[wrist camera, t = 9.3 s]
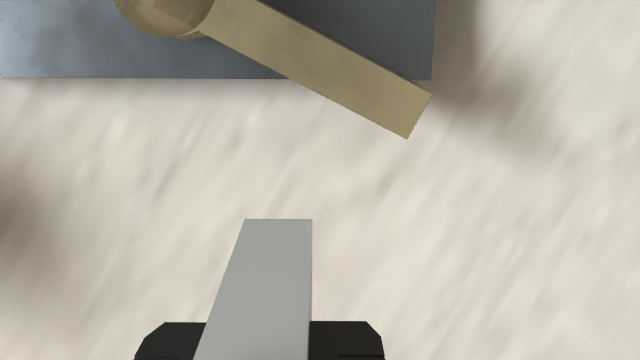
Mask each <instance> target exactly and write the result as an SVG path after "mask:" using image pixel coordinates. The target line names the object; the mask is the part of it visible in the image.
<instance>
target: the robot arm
mask: <svg viewBox="0 0 640 360" xmlns="http://www.w3.org/2000/svg"><path fill="white" fill-rule="evenodd" d="M134 360H385V358H384V350H383V345H382V340H381V336H380V335H379V334H378V333H377V332H376V331H375V330H374V329H373V328H372V327H371V326H370V325H369V324H368V323H367V322H366V321H312V219H245V220H244V223H243V225H242V228H241V231H240V233H239V236H238V239H237V242H236V244H235V247H234V250H233V252H232V255H231V258H230V261H229V263H228V266H227V269H226V271H225V274H224V277H223V280H222V282H221V285H220V288H219V290H218V293H217V296H216V299H215V301H214V304H213V307H212V309H211V312H210V315H209V318H208V320H207V323H197V322H165V323H163V324H162V325H161V326H159V327H158V328H157V329H155V330H154V331H153V332H151V333H150V334H149V335H147V336H146V337H145V338H144V340H143V342H142V343H141V345H140V347H139V349H138V351H137V353H136V354H135V358H134Z"/></svg>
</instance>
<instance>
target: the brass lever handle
mask: <svg viewBox="0 0 640 360" xmlns="http://www.w3.org/2000/svg"><path fill="white" fill-rule="evenodd" d="M114 2H115V4H116V6H117V8H118V10H119V11H120V13H121V14H122V15H123V16H124V18H125V19H126V20H127V21H128V22H129V23H130V24H132V25H133V26H134V27H136V28H137V29H139V30H141V31H143V32H145V33H147V34H150V35H153V36H159V37H174V38H178V39H196V38H201V37H205V36H209V37H211V38H213V39H215V40H217V41H219V42H221V43H223V44H225V45H227V46H228V47H230V48H232V49H234V50H236V51H238V52H240V53H242V54H244V55H246V56H248V57H250V58H252V59H253V60H255V61H257V62H259V63H261V64H263V65H265V66H267V67H269V68H271V69H273V70H275V71H276V72H278V73H280V74H282V75H284V76H286V77H288V78H290V79H292V80H294V81H296V82H298V83H300V84H301V85H303V86H305V87H307V88H309V89H311V90H313V91H315V92H317V93H319V94H321V95H323V96H325V97H326V98H328V99H330V100H332V101H334V102H336V103H338V104H340V105H342V106H344V107H346V108H348V109H349V110H351V111H353V112H355V113H357V114H359V115H361V116H363V117H365V118H367V119H369V120H371V121H373V122H374V123H376V124H378V125H380V126H382V127H384V128H386V129H388V130H390V131H392V132H394V133H396V134H398V135H399V136H401V137H403V138H405V139H408V137H409V135H410V133H411V132H412V130H413V128H414V126H415V125H416V123H417V121H418V119H419V117H420V116H421V114H422V112H423V110H424V109H425V107H426V105H427V103H428V102H429V100H430V98H431V96H432V94H431V93H429V92H428V91H426V90H425V89H423V88H422V87H421V86H419V85H418V84H416V83H414V82H412V81H410V80H409V79H407V78H405V77H403V76H401V75H399V74H397V73H396V72H394V71H392V70H390V69H388V68H386V67H384V66H382V65H381V64H379V63H377V62H375V61H373V60H371V59H369V58H367V57H366V56H364V55H362V54H360V53H358V52H356V51H354V50H352V49H351V48H349V47H347V46H345V45H343V44H341V43H339V42H338V41H336V40H334V39H332V38H330V37H328V36H326V35H324V34H323V33H321V32H319V31H317V30H315V29H313V28H311V27H309V26H308V25H306V24H304V23H302V22H300V21H298V20H296V19H295V18H293V17H291V16H289V15H287V14H285V13H283V12H281V11H280V10H278V9H276V8H274V7H272V6H270V5H268V4H266V3H265V2H263V1H261V0H114Z"/></svg>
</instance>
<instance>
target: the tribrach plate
mask: <svg viewBox="0 0 640 360" xmlns="http://www.w3.org/2000/svg"><path fill="white" fill-rule="evenodd" d="M261 1H263V2H265V3H266V4H268V5H270V6H272V7H274V8H276V9H278V10H280V11H281V12H283V13H285V14H287V15H289V16H291V17H293V18H295V19H296V20H298V21H300V22H302V23H304V24H306V25H308V26H309V27H311V28H313V29H315V30H317V31H319V32H321V33H323V34H324V35H326V36H328V37H330V38H332V39H334V40H336V41H338V42H339V43H341V44H343V45H345V46H347V47H349V48H351V49H352V50H354V51H356V52H358V53H360V54H362V55H364V56H366V57H367V58H369V59H371V60H373V61H375V62H377V63H379V64H381V65H382V66H384V67H386V68H388V69H390V70H392V71H394V72H396V73H397V74H399V75H401V76H403V77H405V78H407V79H409V80H431V67H432V49H433V31H434V12H435V0H261ZM0 77H55V78H207V79H290V78H288V77H286V76H284V75H282V74H280V73H278V72H276V71H275V70H273V69H271V68H269V67H267V66H265V65H263V64H261V63H259V62H257V61H255V60H253V59H252V58H250V57H248V56H246V55H244V54H242V53H240V52H238V51H236V50H234V49H232V48H230V47H228V46H227V45H225V44H223V43H221V42H219V41H217V40H215V39H213V38H211V37H209V36H205V37H201V38H196V39H178V38H174V37H159V36H153V35H150V34H147V33H145V32H143V31H141V30H139V29H137V28H136V27H134V26H133V25H132V24H130V23H129V22H128V21H127V20H126V19H125V18H124V16H123V15H122V14H121V13H120V11H119V10H118V8H117V6H116V4H115V2H114V0H0Z"/></svg>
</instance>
